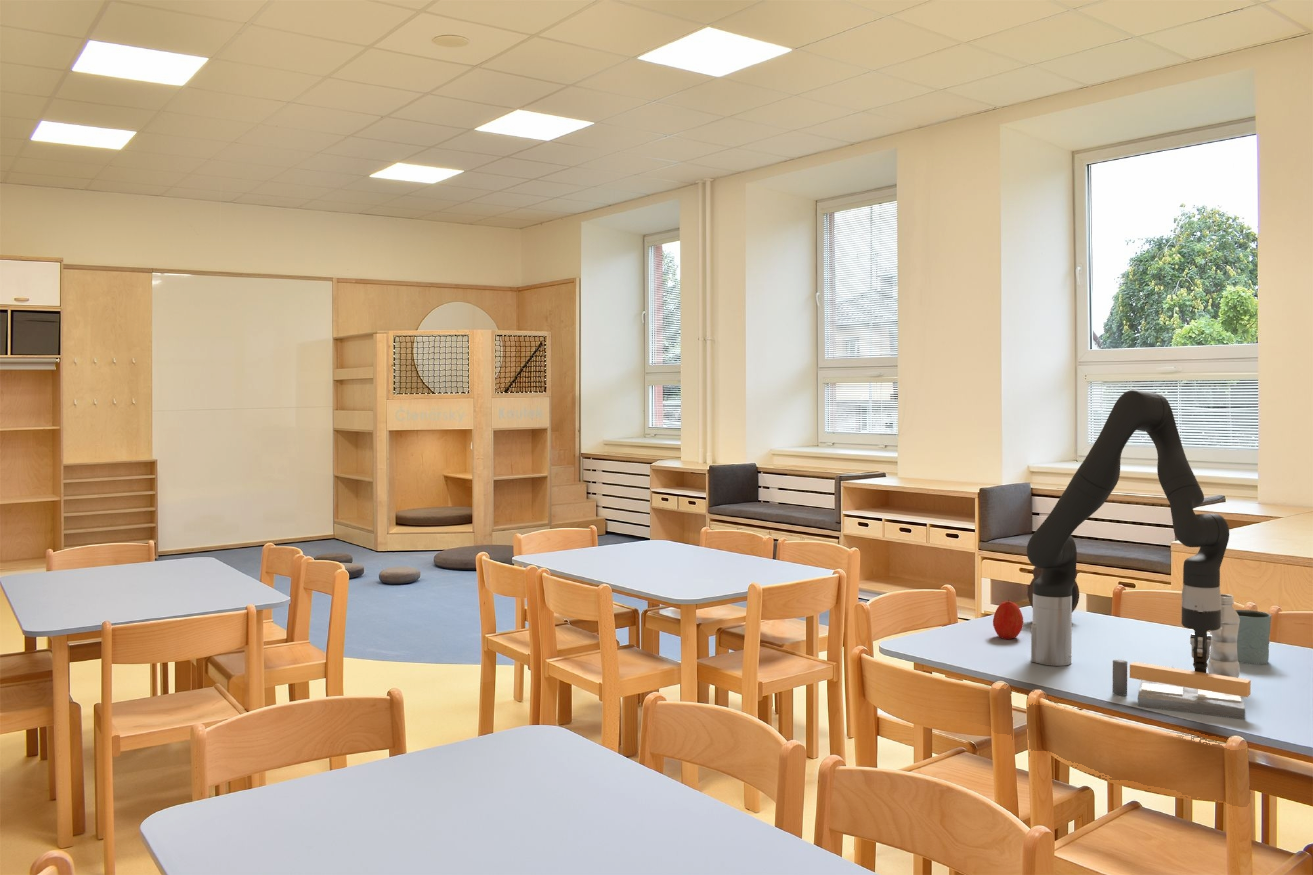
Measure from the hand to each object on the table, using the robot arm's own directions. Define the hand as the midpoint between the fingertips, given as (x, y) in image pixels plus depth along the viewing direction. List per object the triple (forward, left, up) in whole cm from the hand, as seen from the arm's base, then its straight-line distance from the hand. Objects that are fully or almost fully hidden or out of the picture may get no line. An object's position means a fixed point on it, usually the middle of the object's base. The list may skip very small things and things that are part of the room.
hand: (1200, 684), depth 220 cm
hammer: (-4, -3, -4) cm, 7 cm away
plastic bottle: (+5, +24, -4) cm, 25 cm away
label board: (-2, 0, -4) cm, 5 cm away
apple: (-47, +47, -4) cm, 66 cm away
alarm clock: (-38, +76, -4) cm, 85 cm away
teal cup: (+11, +48, -4) cm, 49 cm away
